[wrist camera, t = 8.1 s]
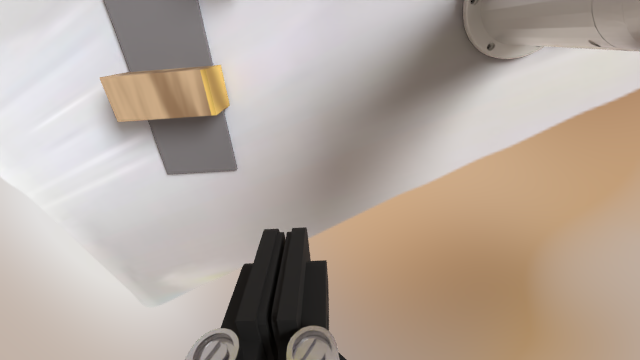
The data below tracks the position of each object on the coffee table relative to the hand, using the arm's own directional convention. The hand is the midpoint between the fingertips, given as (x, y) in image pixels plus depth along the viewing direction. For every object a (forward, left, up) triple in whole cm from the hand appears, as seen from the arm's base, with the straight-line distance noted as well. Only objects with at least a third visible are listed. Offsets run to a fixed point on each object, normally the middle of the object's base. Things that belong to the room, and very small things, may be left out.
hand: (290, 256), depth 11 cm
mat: (+18, -3, -29) cm, 34 cm away
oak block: (+11, -3, -26) cm, 28 cm away
